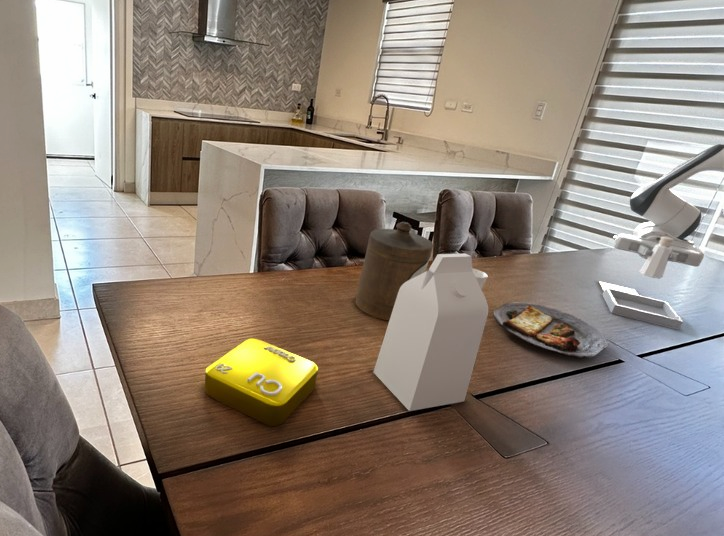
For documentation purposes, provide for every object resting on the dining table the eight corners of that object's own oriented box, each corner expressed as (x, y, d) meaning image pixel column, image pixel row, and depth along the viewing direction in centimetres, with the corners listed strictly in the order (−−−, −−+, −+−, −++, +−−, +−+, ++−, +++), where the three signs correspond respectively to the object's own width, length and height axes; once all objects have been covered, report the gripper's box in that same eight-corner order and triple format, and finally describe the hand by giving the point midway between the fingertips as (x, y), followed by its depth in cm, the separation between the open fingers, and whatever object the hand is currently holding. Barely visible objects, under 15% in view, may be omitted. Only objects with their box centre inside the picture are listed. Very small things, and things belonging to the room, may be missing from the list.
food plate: (578, 374, 98) (584, 360, 96) (474, 325, 114) (479, 312, 112) (616, 343, 113) (622, 330, 112) (521, 304, 129) (525, 292, 127)
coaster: (634, 290, 150) (634, 289, 150) (642, 301, 141) (642, 300, 141) (598, 282, 153) (599, 281, 153) (603, 292, 145) (604, 291, 145)
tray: (663, 309, 137) (667, 301, 136) (678, 330, 125) (683, 321, 124) (602, 295, 143) (605, 287, 142) (611, 313, 130) (615, 304, 129)
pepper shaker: (653, 279, 129) (670, 241, 124) (634, 271, 133) (650, 234, 129) (667, 278, 130) (685, 241, 126) (648, 271, 135) (664, 234, 130)
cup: (450, 300, 126) (458, 272, 123) (456, 288, 134) (464, 262, 131) (477, 308, 123) (486, 280, 120) (482, 295, 131) (490, 269, 128)
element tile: (318, 385, 84) (322, 362, 82) (276, 431, 72) (279, 405, 70) (248, 354, 90) (251, 333, 88) (199, 392, 78) (200, 368, 76)
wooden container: (418, 326, 109) (442, 236, 101) (355, 315, 111) (373, 226, 102) (411, 300, 123) (432, 219, 114) (355, 290, 124) (371, 209, 116)
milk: (424, 365, 94) (459, 242, 84) (464, 401, 84) (509, 267, 74) (373, 372, 90) (403, 243, 79) (409, 411, 80) (449, 270, 70)
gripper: (616, 225, 143) (620, 235, 132) (700, 243, 134) (712, 255, 123) (608, 245, 146) (611, 256, 134) (690, 263, 137) (700, 277, 125)
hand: (660, 256), depth 129 cm, fingers closed on pepper shaker, 4 cm apart
